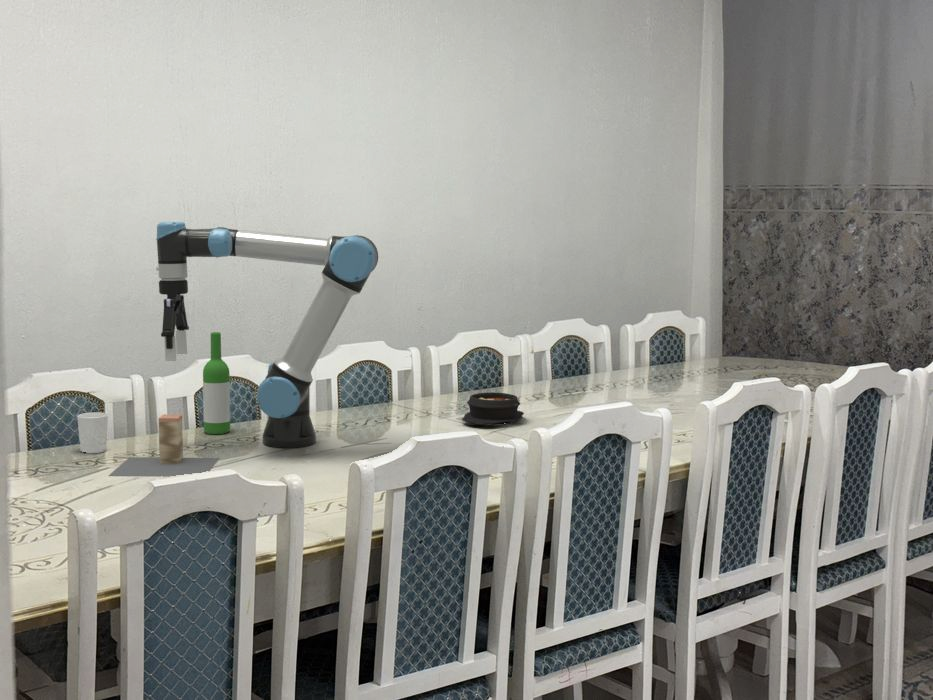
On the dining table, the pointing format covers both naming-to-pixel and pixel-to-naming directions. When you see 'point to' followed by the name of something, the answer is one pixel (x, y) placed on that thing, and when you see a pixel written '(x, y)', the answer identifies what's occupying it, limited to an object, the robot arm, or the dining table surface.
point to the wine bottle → (216, 390)
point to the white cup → (93, 432)
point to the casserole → (493, 408)
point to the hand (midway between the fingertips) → (176, 357)
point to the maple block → (170, 439)
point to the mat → (163, 467)
